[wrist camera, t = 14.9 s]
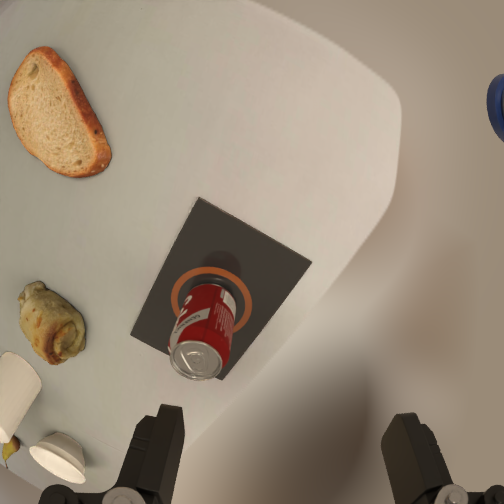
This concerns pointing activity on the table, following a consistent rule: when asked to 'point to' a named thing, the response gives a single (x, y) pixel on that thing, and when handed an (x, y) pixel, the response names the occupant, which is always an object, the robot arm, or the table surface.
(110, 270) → the table surface
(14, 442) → the fruit
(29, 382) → the bottle
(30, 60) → the slice of bread
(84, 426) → the table surface
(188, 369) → the soda can
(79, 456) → the bowl
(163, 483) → the robot arm
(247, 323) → the hob mat
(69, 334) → the pastry
